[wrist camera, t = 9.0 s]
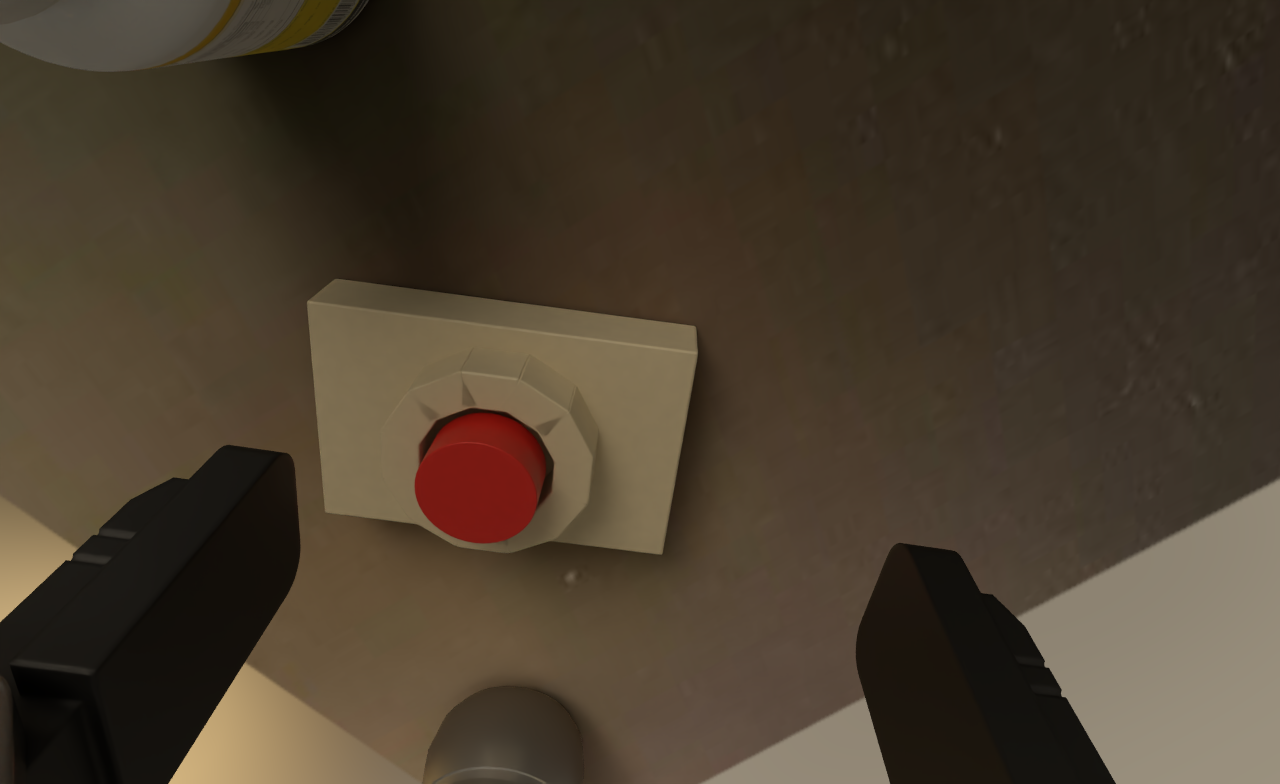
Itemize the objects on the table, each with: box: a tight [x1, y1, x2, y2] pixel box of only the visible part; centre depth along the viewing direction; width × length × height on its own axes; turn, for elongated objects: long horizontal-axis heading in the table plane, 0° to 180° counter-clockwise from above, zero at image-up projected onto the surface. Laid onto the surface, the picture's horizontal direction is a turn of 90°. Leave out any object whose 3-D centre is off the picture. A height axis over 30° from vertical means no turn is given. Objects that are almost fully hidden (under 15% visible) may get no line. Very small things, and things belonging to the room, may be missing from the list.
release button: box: [414, 413, 546, 544], centre depth 22 cm, size 4×4×2 cm
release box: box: [307, 279, 698, 555], centre depth 25 cm, size 12×8×4 cm, turn 83°
